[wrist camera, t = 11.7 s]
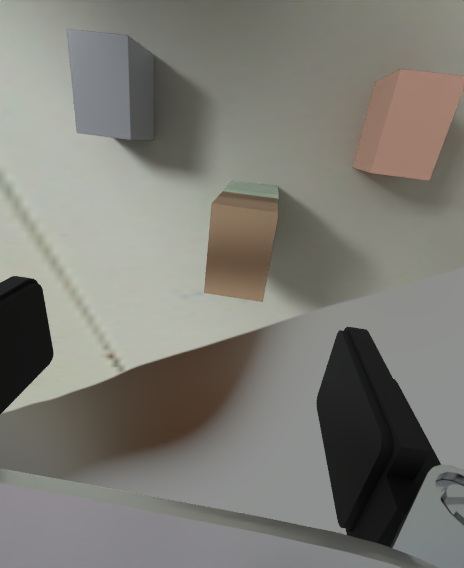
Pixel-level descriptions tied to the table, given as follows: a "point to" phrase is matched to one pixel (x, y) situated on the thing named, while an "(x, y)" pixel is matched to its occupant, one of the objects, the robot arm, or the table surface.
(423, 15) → the table surface
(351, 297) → the table surface
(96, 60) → the grey toy block
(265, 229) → the walnut brick
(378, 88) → the terracotta brick
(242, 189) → the sage brick
